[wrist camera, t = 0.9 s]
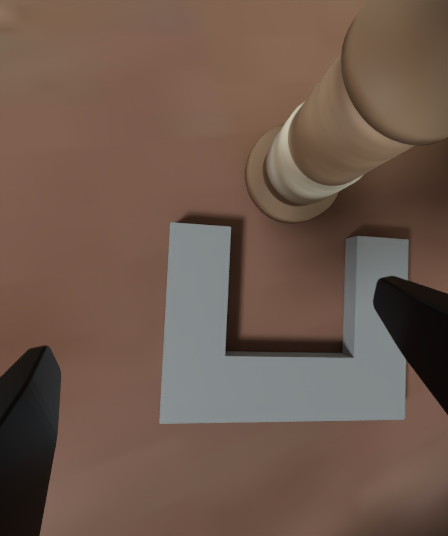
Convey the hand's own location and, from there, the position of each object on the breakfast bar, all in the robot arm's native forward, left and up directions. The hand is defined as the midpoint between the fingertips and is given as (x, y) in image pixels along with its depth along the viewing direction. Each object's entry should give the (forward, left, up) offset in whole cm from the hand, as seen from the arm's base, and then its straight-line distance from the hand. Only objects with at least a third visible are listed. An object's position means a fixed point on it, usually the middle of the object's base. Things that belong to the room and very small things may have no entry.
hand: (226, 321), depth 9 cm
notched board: (-6, -3, -13) cm, 15 cm away
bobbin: (0, -11, -13) cm, 17 cm away
